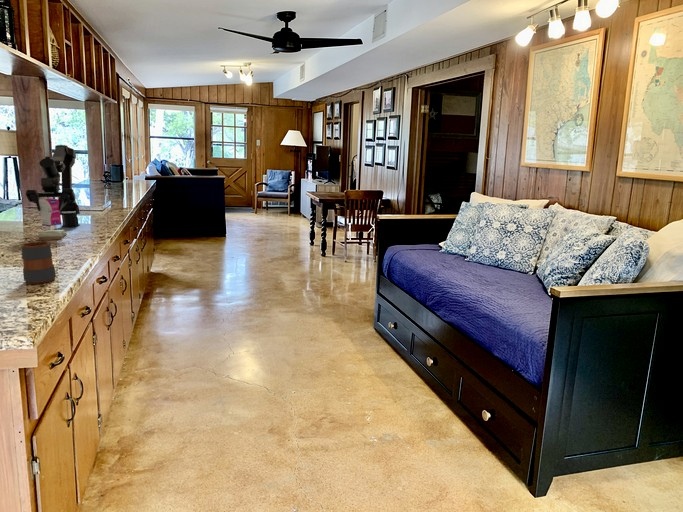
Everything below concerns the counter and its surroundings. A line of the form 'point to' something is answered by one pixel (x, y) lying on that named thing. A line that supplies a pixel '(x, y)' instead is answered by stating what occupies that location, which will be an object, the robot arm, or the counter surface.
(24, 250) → the banded dark cylinder
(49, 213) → the supplement box
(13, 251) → the counter surface
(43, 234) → the pedestal
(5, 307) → the counter surface
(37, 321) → the counter surface
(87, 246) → the counter surface
